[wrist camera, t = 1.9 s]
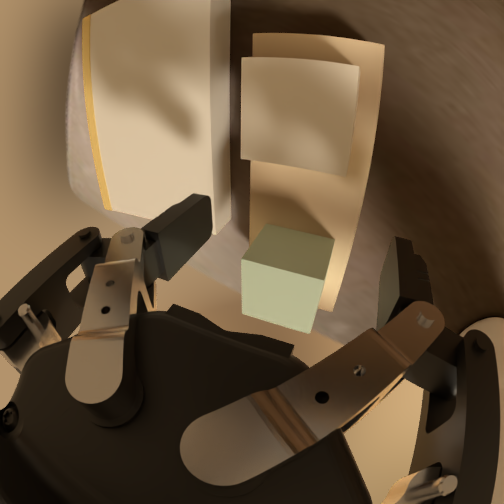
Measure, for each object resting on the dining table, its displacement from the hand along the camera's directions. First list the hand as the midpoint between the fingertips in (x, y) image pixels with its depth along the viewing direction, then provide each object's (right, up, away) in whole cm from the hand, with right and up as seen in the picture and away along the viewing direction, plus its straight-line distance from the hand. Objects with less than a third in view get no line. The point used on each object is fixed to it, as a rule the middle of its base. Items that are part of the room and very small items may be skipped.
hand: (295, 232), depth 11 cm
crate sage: (+1, -1, +5) cm, 5 cm away
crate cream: (+1, +6, 0) cm, 6 cm away
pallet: (+2, +4, +5) cm, 7 cm away
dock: (-9, +10, +6) cm, 15 cm away
